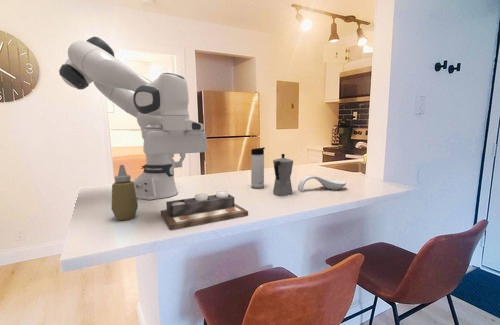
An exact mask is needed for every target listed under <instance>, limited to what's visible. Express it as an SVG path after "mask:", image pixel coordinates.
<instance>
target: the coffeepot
mask: <svg viewBox="0 0 500 325" xmlns="http://www.w3.org/2000/svg"><path fill="white" fill-rule="evenodd" d="M280 155H281V157H280V158H276V159H273V160H272V163H273V170H274V171H273V172H274V175H275V177H274V178H275V179H274V185H273V190H272V191H273V192H272V193H273V195H275V196H277V197H288V195H289V196H292V195H293V189H292V188H293V185H292V180H291V176H292V172H293V167H294V165H293V164H294V160H293V159H290V158H285V155H286V154H285V153H281V154H280Z"/></svg>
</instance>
